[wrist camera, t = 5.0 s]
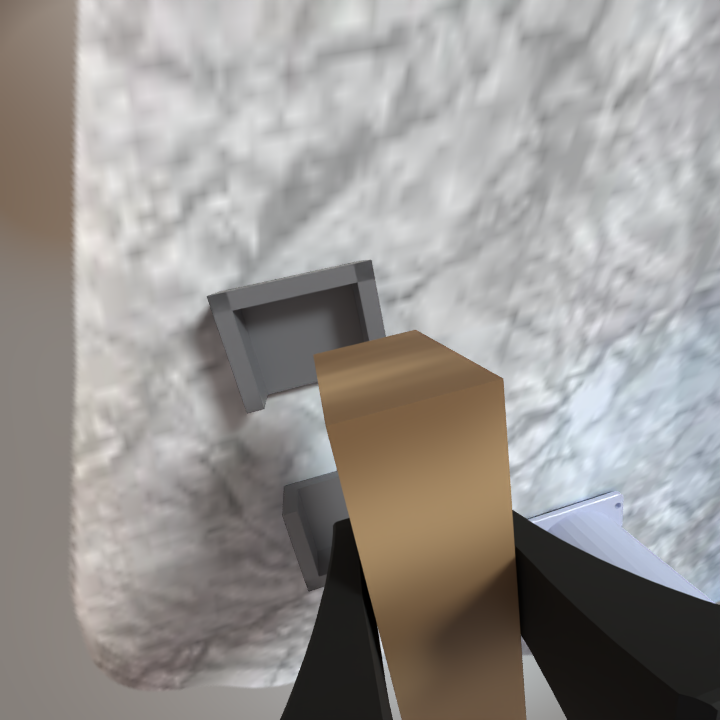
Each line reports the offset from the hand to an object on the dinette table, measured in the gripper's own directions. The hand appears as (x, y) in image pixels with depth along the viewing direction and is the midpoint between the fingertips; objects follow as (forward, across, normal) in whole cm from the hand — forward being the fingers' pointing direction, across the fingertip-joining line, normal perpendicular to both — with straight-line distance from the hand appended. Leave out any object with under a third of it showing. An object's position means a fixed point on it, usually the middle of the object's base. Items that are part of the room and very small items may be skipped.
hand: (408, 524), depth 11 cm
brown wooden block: (+2, 0, 0) cm, 2 cm away
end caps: (+8, +2, 0) cm, 9 cm away
